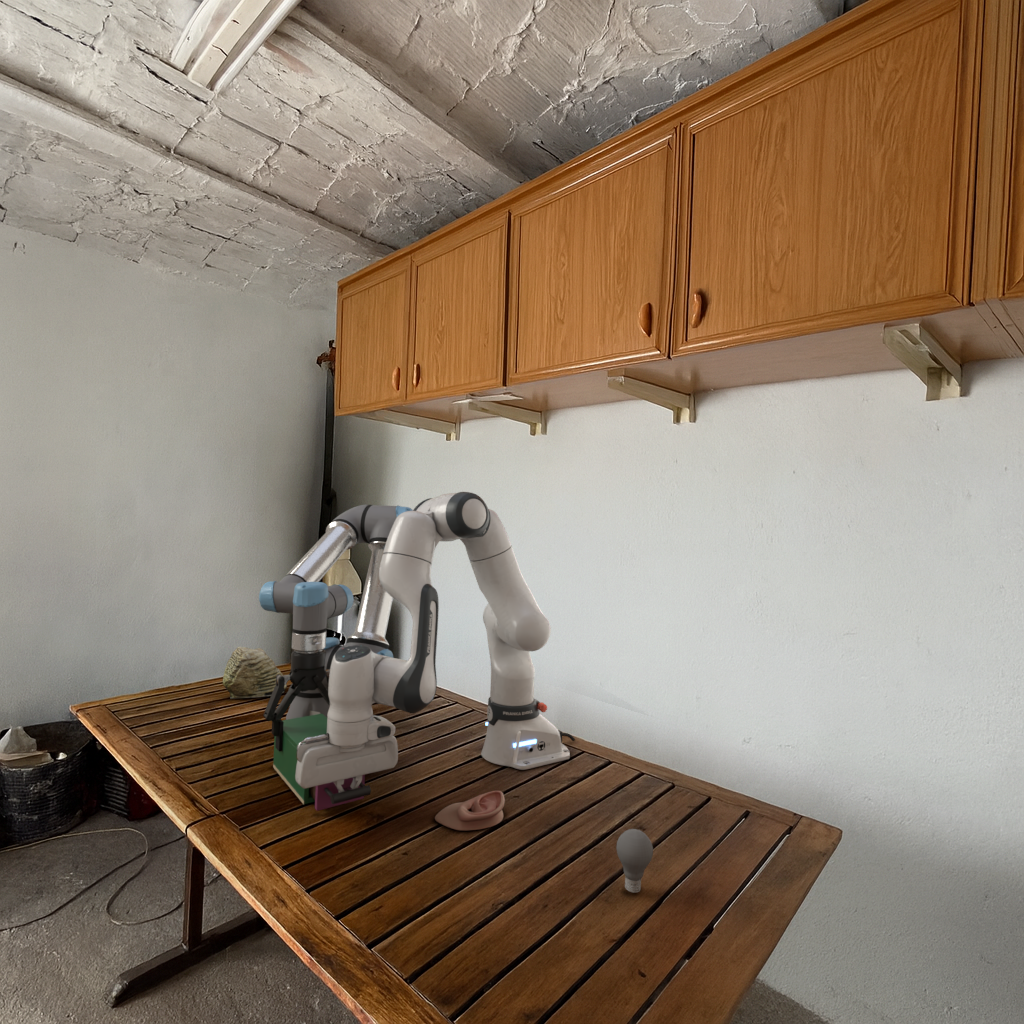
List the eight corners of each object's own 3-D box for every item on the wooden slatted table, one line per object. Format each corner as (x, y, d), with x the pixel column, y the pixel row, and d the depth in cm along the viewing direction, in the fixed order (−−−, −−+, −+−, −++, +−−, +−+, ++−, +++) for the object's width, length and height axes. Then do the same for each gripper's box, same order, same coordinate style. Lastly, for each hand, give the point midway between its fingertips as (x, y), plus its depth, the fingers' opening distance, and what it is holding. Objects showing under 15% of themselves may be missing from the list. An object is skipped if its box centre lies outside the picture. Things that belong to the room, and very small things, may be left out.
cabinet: (355, 791, 137) (357, 742, 137) (303, 804, 130) (305, 753, 130) (320, 757, 154) (322, 713, 153) (273, 767, 147) (274, 721, 147)
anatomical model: (430, 806, 123) (447, 781, 135) (429, 826, 123) (447, 799, 135) (496, 815, 121) (508, 789, 132) (495, 836, 121) (508, 808, 132)
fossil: (218, 695, 195) (220, 647, 195) (278, 685, 208) (279, 640, 207) (228, 703, 189) (230, 653, 188) (289, 692, 201) (290, 645, 201)
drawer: (375, 809, 127) (377, 767, 127) (327, 823, 121) (329, 778, 121) (328, 764, 148) (330, 727, 147) (285, 773, 142) (286, 735, 141)
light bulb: (610, 879, 108) (613, 822, 108) (644, 879, 109) (647, 822, 109) (619, 902, 102) (622, 840, 102) (655, 901, 103) (658, 840, 103)
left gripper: (260, 659, 136) (256, 760, 136) (363, 647, 150) (359, 739, 150) (250, 651, 142) (247, 748, 142) (351, 641, 156) (347, 729, 156)
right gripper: (302, 745, 117) (299, 818, 118) (402, 725, 129) (400, 792, 130) (291, 733, 122) (289, 804, 123) (389, 716, 134) (386, 780, 135)
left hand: (305, 744), depth 146 cm, fingers closed on cabinet, 11 cm apart
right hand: (347, 798), depth 126 cm, fingers closed, pressing on drawer
